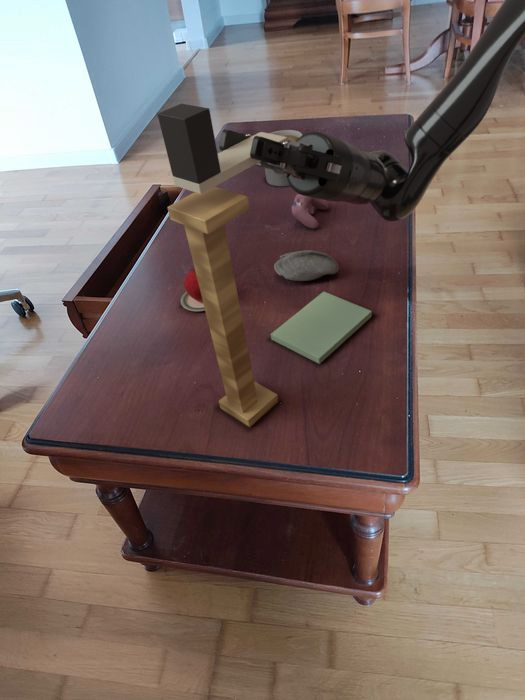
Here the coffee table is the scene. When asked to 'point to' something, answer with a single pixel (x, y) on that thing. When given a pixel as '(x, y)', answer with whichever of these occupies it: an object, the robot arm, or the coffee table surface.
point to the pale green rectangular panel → (321, 326)
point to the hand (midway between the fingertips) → (238, 143)
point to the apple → (192, 293)
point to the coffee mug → (270, 174)
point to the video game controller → (307, 209)
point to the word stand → (222, 297)
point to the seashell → (305, 265)
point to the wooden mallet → (202, 149)
